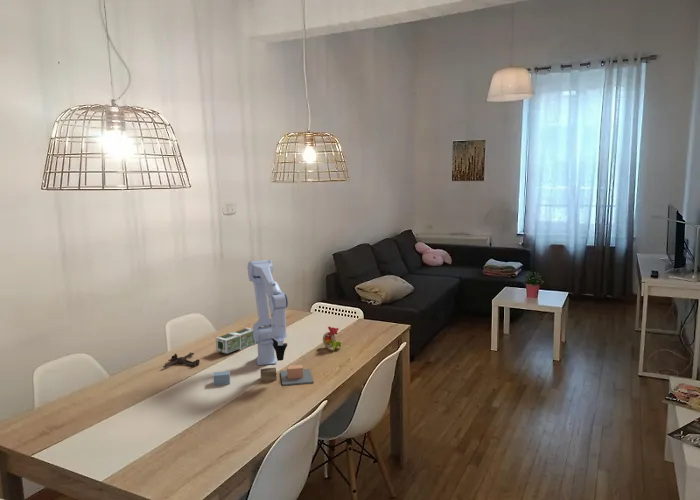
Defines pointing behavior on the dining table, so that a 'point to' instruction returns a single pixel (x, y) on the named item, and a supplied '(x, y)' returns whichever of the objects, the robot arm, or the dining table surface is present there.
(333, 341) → the bird rattle
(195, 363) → the dark action figure
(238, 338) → the green white framed bar
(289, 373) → the terracotta brick
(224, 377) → the slate blue brick
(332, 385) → the dining table surface
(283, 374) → the grey flat square slab
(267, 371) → the walnut brick
